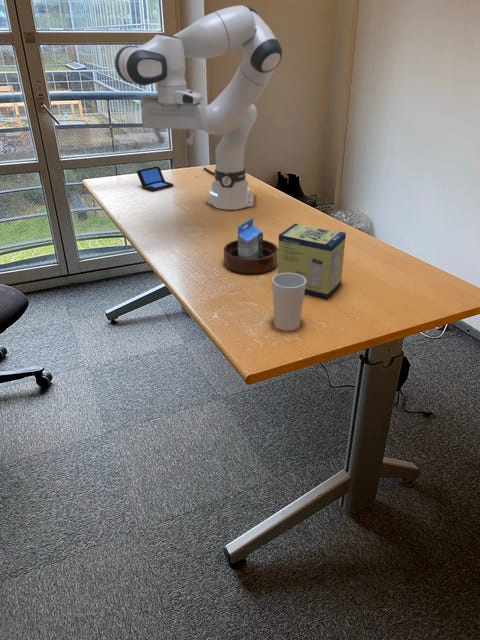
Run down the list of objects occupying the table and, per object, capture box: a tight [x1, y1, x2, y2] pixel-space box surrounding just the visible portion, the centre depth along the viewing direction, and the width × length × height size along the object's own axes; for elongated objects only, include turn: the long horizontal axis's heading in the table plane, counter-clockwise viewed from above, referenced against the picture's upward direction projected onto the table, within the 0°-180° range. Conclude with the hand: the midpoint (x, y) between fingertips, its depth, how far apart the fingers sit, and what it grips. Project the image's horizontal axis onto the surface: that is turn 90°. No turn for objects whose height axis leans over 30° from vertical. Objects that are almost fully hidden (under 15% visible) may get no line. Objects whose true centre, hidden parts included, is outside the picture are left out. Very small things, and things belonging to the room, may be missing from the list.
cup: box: [271, 273, 306, 331], centre depth 121 cm, size 8×8×12 cm
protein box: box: [277, 222, 347, 300], centre depth 138 cm, size 10×16×16 cm
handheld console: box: [136, 165, 174, 192], centre depth 225 cm, size 12×11×7 cm
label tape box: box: [237, 217, 264, 259], centre depth 151 cm, size 9×4×12 cm, turn 148°
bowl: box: [223, 239, 278, 275], centre depth 153 cm, size 16×16×5 cm
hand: (175, 143), depth 159 cm, fingers open, 8 cm apart
